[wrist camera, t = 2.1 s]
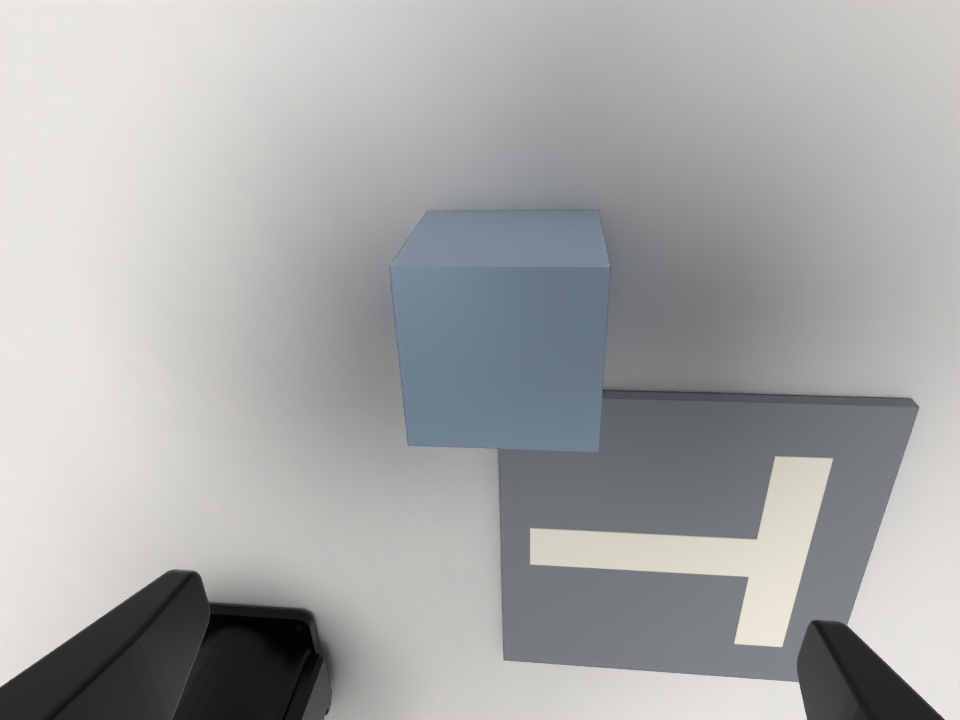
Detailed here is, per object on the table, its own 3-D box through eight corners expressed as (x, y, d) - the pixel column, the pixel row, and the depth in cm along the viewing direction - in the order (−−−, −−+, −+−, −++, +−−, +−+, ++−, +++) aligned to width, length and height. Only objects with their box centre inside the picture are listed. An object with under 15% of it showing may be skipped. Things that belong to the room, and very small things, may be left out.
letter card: (504, 650, 28) (503, 661, 27) (498, 388, 22) (497, 396, 21) (823, 672, 26) (827, 684, 26) (911, 398, 20) (919, 407, 20)
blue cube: (438, 358, 21) (407, 444, 17) (428, 210, 19) (389, 266, 15) (590, 361, 21) (598, 452, 17) (598, 209, 19) (610, 266, 14)
